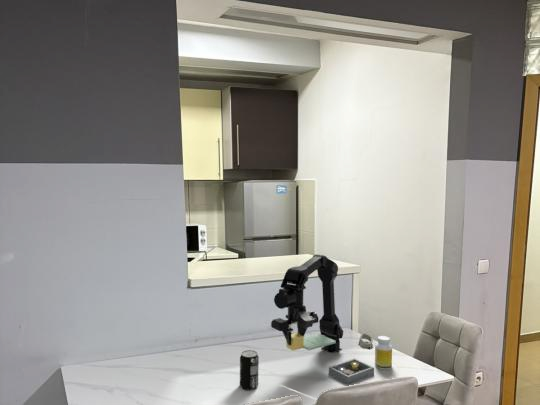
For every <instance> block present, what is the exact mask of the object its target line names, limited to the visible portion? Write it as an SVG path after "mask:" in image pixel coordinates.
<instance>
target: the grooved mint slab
mask: <svg viewBox="0 0 540 405" xmlns="http://www.w3.org/2000/svg"><path fill="white" fill-rule="evenodd" d="M334 343H336V341H335V340H332V339H330V338H328V337H326V336H324V335H321V333H320V332H319V333H315V334H312V335H311V334H310V335H306V336H305V335H304V336H303V335H300V334H298V332H295V333H291V345H288V343H287V342H286V346H285V347H286V348H287V349H289V350H291V351H298V350H301V349H305V350H307V351H311V350H315V349H318V348H321V347H324V346H327V345H331V344H334Z"/></svg>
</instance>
